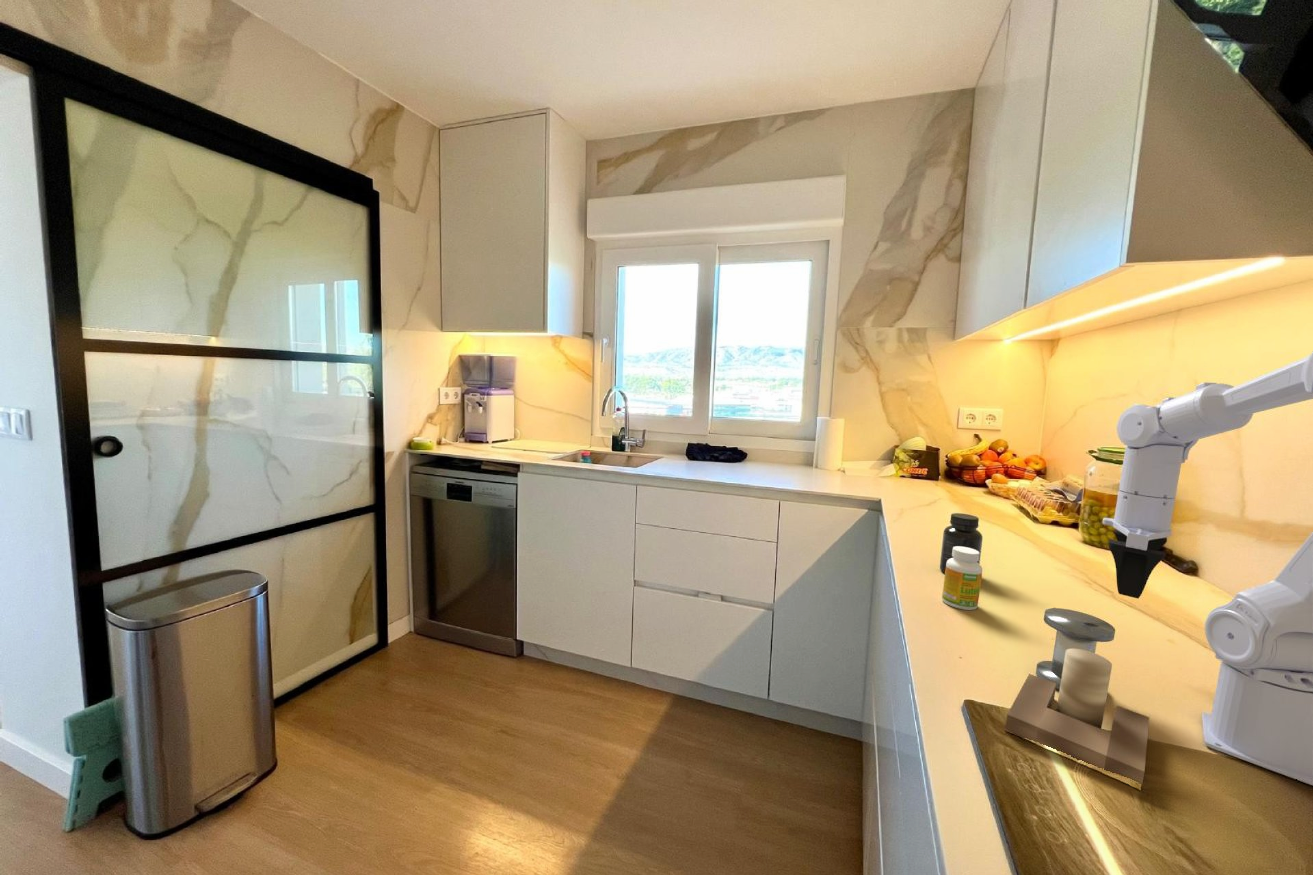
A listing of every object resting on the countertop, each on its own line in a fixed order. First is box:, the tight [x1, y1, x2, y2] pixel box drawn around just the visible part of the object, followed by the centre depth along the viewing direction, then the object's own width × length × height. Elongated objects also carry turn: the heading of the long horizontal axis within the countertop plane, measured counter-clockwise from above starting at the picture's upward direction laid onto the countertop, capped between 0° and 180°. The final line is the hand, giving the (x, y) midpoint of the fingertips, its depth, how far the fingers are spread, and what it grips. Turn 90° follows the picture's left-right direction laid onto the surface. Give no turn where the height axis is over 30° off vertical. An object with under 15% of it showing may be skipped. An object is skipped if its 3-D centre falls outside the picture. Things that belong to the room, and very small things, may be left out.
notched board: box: [1004, 673, 1150, 786], centre depth 57 cm, size 11×12×2 cm
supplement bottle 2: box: [941, 546, 983, 611], centre depth 90 cm, size 5×5×10 cm
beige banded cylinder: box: [1055, 649, 1113, 729], centre depth 58 cm, size 4×4×8 cm
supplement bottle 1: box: [939, 512, 983, 575], centre depth 105 cm, size 7×7×12 cm
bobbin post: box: [1035, 607, 1116, 692], centre depth 67 cm, size 7×7×8 cm
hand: (1130, 588), depth 73 cm, fingers open, 7 cm apart
